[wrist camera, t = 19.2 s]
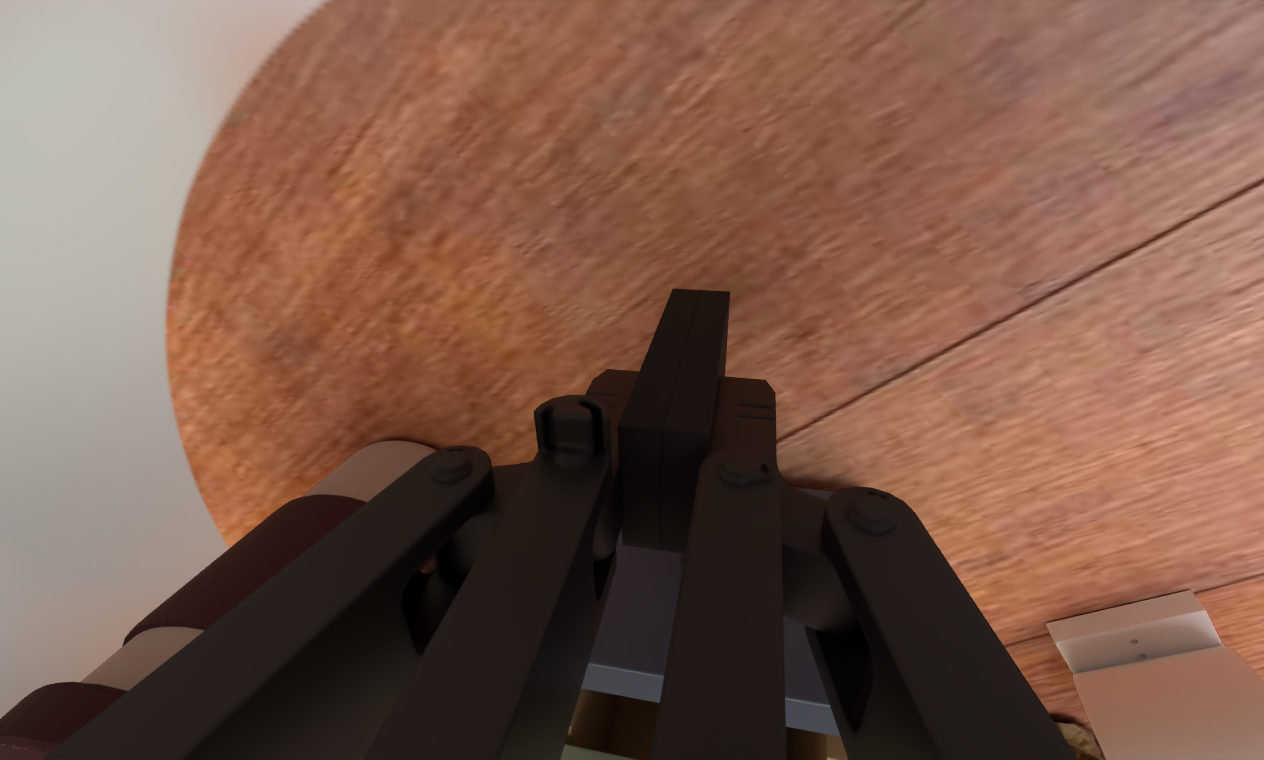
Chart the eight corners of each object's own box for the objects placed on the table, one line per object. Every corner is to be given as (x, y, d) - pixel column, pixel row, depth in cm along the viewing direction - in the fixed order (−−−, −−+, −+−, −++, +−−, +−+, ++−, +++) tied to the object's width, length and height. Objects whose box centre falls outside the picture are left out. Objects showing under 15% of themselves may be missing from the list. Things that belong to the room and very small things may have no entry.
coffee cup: (347, 560, 29) (18, 960, 16) (296, 392, 24) (-234, 779, 11) (535, 598, 28) (333, 1073, 15) (523, 426, 23) (201, 922, 10)
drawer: (582, 436, 21) (494, 616, 14) (871, 466, 19) (923, 688, 13) (600, 651, 27) (544, 847, 20) (821, 690, 25) (839, 919, 19)
